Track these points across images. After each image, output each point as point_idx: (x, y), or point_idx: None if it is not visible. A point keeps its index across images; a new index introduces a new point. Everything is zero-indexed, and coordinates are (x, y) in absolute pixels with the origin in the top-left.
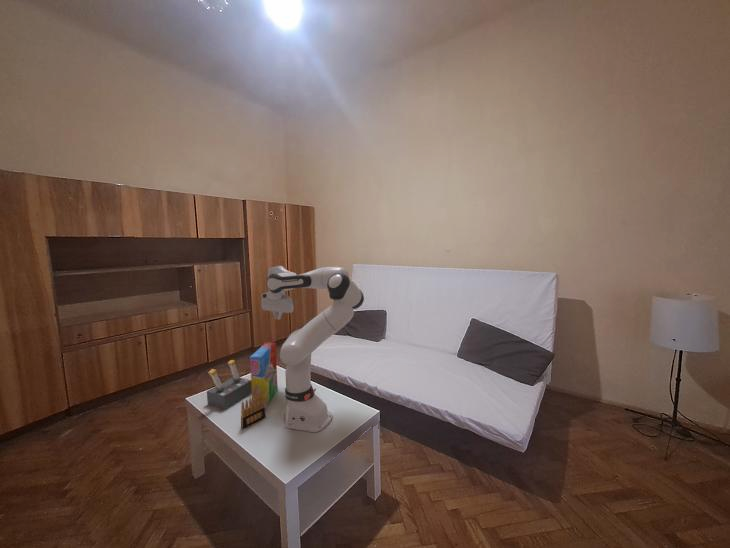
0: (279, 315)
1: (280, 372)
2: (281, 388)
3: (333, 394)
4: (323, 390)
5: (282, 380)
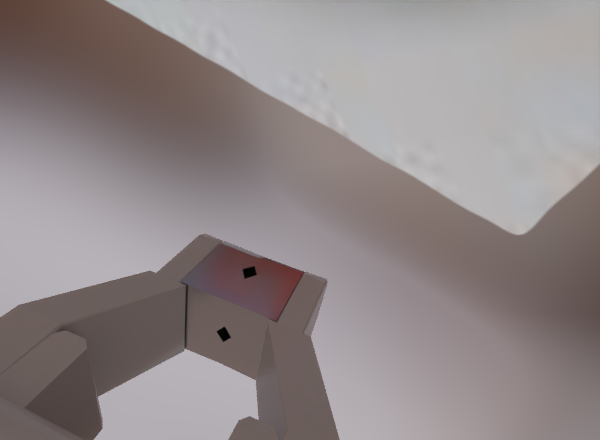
0: (106, 288)
1: (450, 176)
2: (373, 2)
3: (131, 8)
4: (180, 32)
5: (404, 91)
